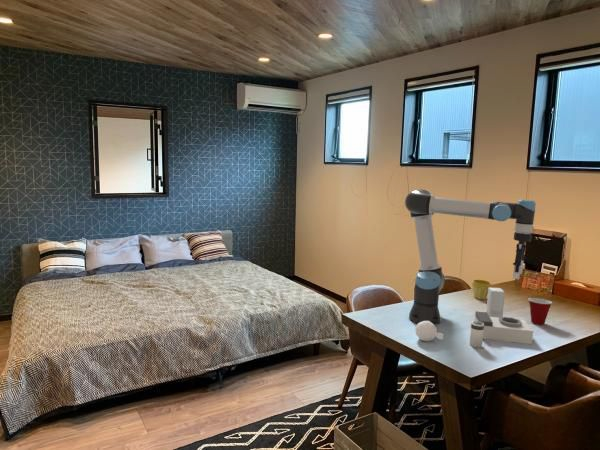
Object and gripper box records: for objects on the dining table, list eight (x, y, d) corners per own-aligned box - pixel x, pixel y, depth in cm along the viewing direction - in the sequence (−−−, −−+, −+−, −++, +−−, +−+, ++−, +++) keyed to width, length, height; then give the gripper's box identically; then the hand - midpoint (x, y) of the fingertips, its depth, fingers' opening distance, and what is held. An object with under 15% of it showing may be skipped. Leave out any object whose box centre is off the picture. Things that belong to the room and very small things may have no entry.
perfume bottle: (411, 338, 195) (440, 347, 190) (417, 317, 196) (445, 326, 191) (414, 337, 203) (441, 346, 198) (419, 317, 204) (446, 325, 199)
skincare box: (502, 322, 225) (505, 292, 223) (488, 321, 227) (491, 291, 224) (498, 316, 233) (501, 287, 231) (485, 315, 235) (488, 286, 232)
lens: (470, 346, 193) (472, 324, 192) (468, 342, 198) (470, 320, 197) (482, 348, 192) (485, 325, 191) (480, 343, 197) (482, 321, 196)
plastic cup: (546, 320, 230) (549, 298, 229) (552, 328, 220) (555, 304, 218) (523, 317, 233) (526, 295, 232) (527, 325, 223) (530, 301, 221)
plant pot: (491, 297, 268) (492, 281, 267) (487, 301, 260) (489, 285, 258) (472, 293, 274) (474, 278, 272) (469, 297, 265) (470, 281, 264)
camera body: (479, 338, 203) (480, 321, 202) (474, 327, 217) (475, 311, 216) (531, 344, 199) (533, 326, 198) (523, 332, 212) (525, 316, 211)
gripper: (529, 236, 200) (523, 282, 204) (533, 230, 222) (528, 272, 225) (511, 234, 204) (505, 279, 207) (517, 228, 225) (511, 269, 229)
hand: (517, 276), depth 216 cm, fingers open, 13 cm apart
